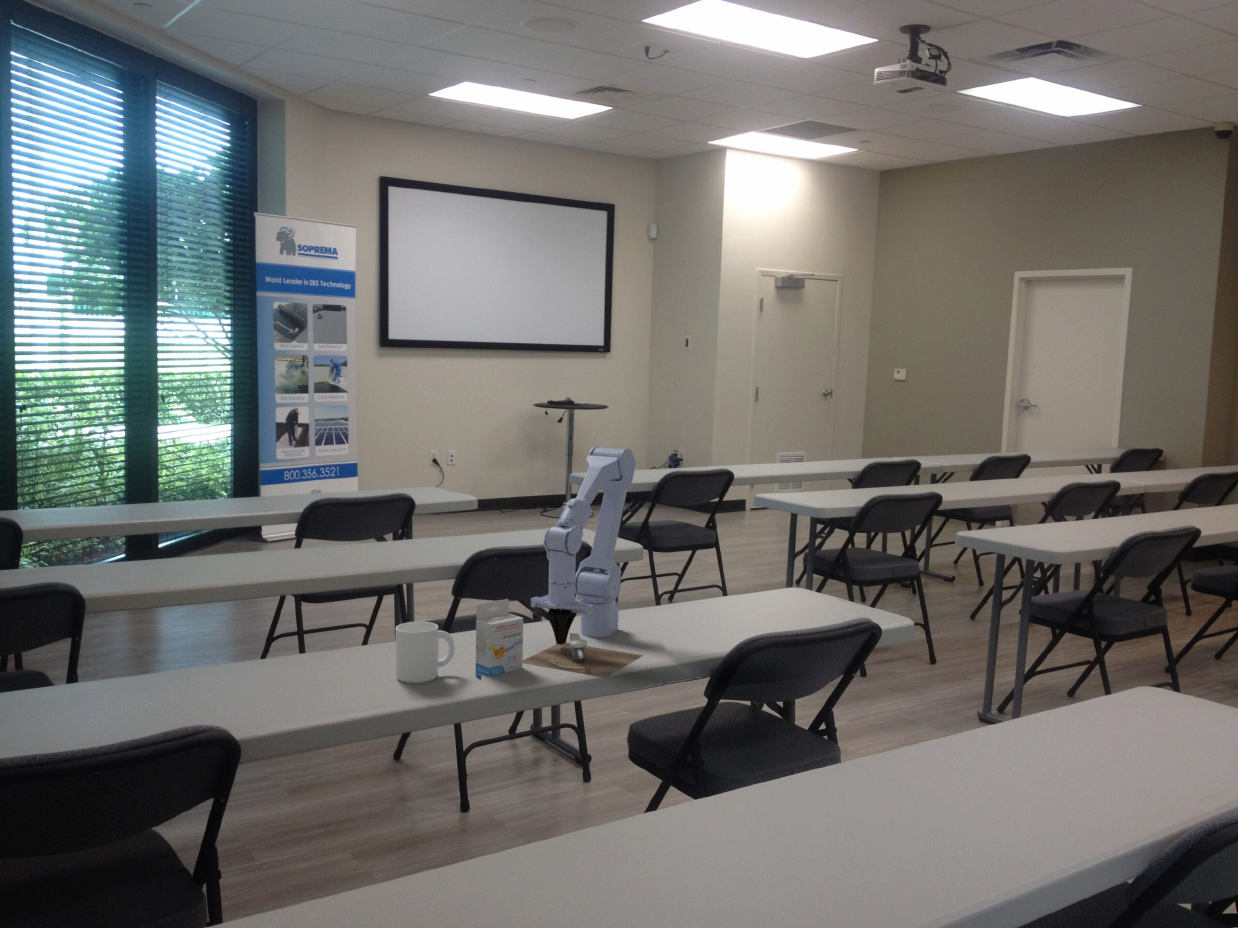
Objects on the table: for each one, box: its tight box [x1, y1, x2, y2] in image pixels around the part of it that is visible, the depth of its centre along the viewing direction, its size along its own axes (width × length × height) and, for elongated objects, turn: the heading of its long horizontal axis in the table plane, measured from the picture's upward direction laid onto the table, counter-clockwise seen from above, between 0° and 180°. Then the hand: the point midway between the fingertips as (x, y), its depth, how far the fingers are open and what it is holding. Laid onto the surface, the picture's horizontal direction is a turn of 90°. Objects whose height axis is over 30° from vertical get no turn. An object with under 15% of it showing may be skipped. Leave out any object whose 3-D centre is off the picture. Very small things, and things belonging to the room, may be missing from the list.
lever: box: [569, 632, 588, 662], centre depth 207 cm, size 15×4×4 cm, turn 8°
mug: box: [395, 621, 456, 684], centre depth 197 cm, size 12×8×10 cm
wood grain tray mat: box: [522, 642, 644, 679], centre depth 207 cm, size 18×20×1 cm
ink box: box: [475, 598, 524, 679], centre depth 198 cm, size 8×5×15 cm, turn 135°
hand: (561, 643), depth 215 cm, fingers closed
